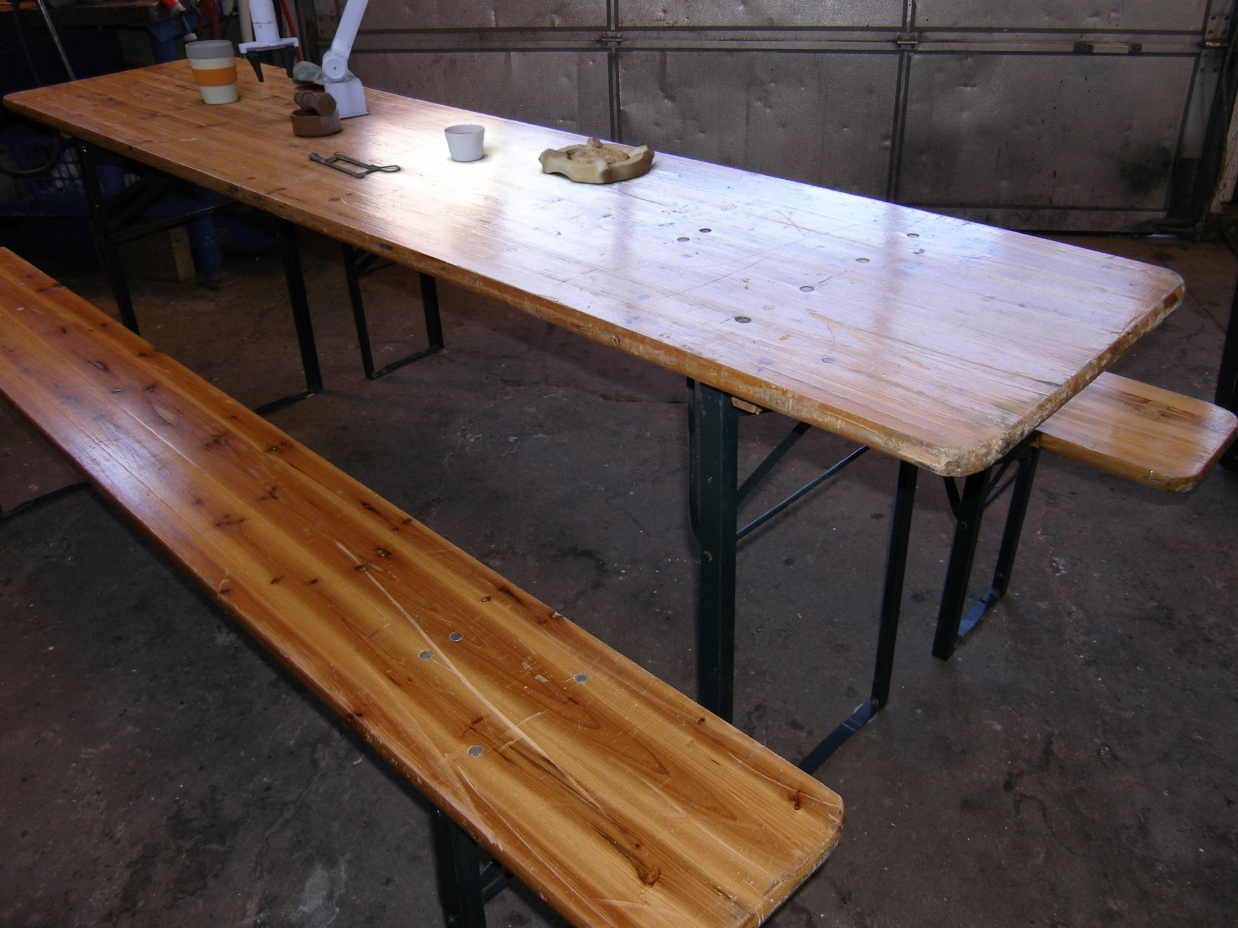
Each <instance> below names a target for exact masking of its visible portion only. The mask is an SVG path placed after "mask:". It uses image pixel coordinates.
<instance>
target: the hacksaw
mask: <svg viewBox="0 0 1238 928" xmlns="http://www.w3.org/2000/svg"><path fill="white" fill-rule="evenodd" d="M342 153H344V154H340V151H335V152H333V153H332V155H333V156H331V157H327V158H324V157H322V156H321V155H319V154H318V153H316V152H310V153H308V159H310V160H312V161H316V162H317V163H321V164H323V165H328V166H330V167H333V168H336V169H338V170H341V171H344V172H345V173H348V174H350V175H352V176H353V177H355V178H364V177H365V176H367V175H368V174H370V173H374V172H381V173H383V172H384V173H394V172H395V173H396V172H398V171H400V170H401V167H400V166H399V165H397V164H391V165H384V166H378V165H374V164H368V163H364V162H362V161H360V160H357V159H354V158H352V157H349V156H346V155H345V152H344V151H342ZM336 159H341V160H343V161H346V162H349V163H352V164H355V165H357V166H361V167H363V168H366V169H367V170H365V171H364V172H354V171H352V170H351V169H347V168H345V167H344V166H340V165H338V164H336V163H333V162H331V161H335V160H336ZM387 168H396V169H391V170H386V169H387Z"/></svg>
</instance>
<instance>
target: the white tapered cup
mask: <svg viewBox="0 0 1238 928" xmlns="http://www.w3.org/2000/svg"><path fill="white" fill-rule="evenodd" d="M485 129H486V128H485V126H483V125H481V124H475V123H474V124H473V123H464V124H454V125H451V126H447V127H445V128H444V129H443V133H444V137H445V139H446V142H447V147H448V150H449V154H450V157H451V159H452V160H454V161H457V162H474V161H478V160H480V159H482V158H483V154H484V144H485V143H484V141H485Z"/></svg>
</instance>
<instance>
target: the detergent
mask: <svg viewBox="0 0 1238 928" xmlns="http://www.w3.org/2000/svg"><path fill="white" fill-rule="evenodd" d="M347 73H348V74H349V75H351V78H355V77H356V76H355V75H354V74H353V72H352V71H350V70H349V69H348V72H347ZM324 77H325V74H324V73H323V70H322V66H319V65H318V64H316V63H313V62H312V61H311V62H310V61H306V60H302V61H299V62H297V63H295V64H294V66H293V78H291V82H292V83H293V84H295V85H298V86H302V87H309V86H312V85H313V84H316V85H319V86H323V87H324V82H323V78H324Z"/></svg>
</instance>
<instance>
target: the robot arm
mask: <svg viewBox="0 0 1238 928" xmlns="http://www.w3.org/2000/svg"><path fill="white" fill-rule="evenodd" d="M368 3H369V0H347V1H346V4H345V7H344V9H343V13H342V15H341V18H340V21H339V23H338V27H337V30H336V32H335V36H334V38H333V40H332V42H331V44H330V47H329V49H328V50H326V51H325V53H324V54H323V56H322V60H321V61H322V64H321V68H322V70H323V73H324V74H325V77H324V78H323V82H324V86H323V88H324V93H330V94H331V95H332V97H333V98H334V99H335V101H336V103H337V106H336V108H338V110H339V116H340V120H342V119H346V118H351V117H358V116H363V115H364V116H365V115H368V114H369V111H368V108H367V104H366V96H365V90H364V86H363V84H362V81H361V80H360V78H359V77H357V76H355V78H351V75H349V74H348V73H347V72H348V70H349V68H348V66H349V65H348V61H349V58H350V55H351V50H352V48H353V45H354V41H355V39H356V35H357V33H358V30H359V28H360V25H361V22H362V20H363V16H364V14H365V11H366V8H367V5H368ZM274 7H275V6H274V1H273V0H248V8H249V13H250V18H251V22H252V28H253V32H254V37H255V41H251V42H244V43H238V49H239V52H240V54H243V55H244V57H245V58H246V60H247V61H248V63H249V64H250V66H251V67H252V69H253V71H254V73H255V75H256V78H257V81H258V83H265V78H264V73H263V69H262V64H261V55H260V54H259V53H258V52H261V51H262V52H263V51H269V50H276V49H277V50H279V49H280V51H281V54H282V57H283V61H284V66H285V71H286V72H285V73H286V76H287V78H289V79H292V78H293V67H294V66H295V59H296V56H297V54H298V50H297V48H298V47H300V44H299V39H298V38H297V37H285V38H283V37H281V38H280V34H279V33H280V32H279V27H278V22H277V17H276V11H275V8H274Z"/></svg>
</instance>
